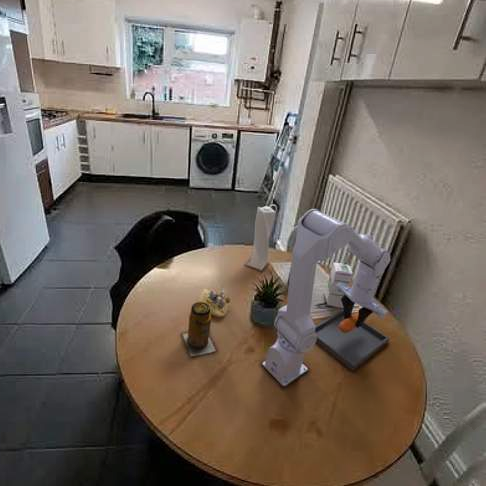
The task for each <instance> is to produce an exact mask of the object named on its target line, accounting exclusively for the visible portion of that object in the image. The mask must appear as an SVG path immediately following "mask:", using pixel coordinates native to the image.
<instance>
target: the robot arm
mask: <svg viewBox="0 0 486 486" xmlns="http://www.w3.org/2000/svg"><path fill="white" fill-rule="evenodd" d="M373 239H374V237H373V236H372V235H370V234H369V233H366V234H363V233H358V232H357V231H356V230H355V229H354V227H353V226H351V225H350V224H348V223H346V222H343V221H341V220H339V219H337V218H335V217H333V216H331V215H328V213H327V214H326V213H324V212H322V211H321V210H319V209H317V208H311V209H309V210H307V211H306V212H304V214H303V215H302V216H301V217H300V218H299V220H297V226H296V235H295V243H294V245H293V248H292V251H291V258H290V259H291V260H290V268H291V269H290V268H289V273H290V279H289V285H288V290H287V301H286V305H284V306H282V307H280V308H279V309H278V311H277V314H276V317H275V318H274V319H275V320H274V323H273V327H274V328H275V329H276V330H277V332H276V335H277V339H276V341H275V343H274V344H272V345H271V346H269V348H268V349H267V351H266V358H265V360H264V361H263V362H262V366H263V367H264V368H265V370H267V371H268V373H270V374H271V375H272V376H273V377H274V378H275V379H276V381H277V382H278V383H279V384H280V385H281V386H283V387H286V386H287V385H289V384H290V383H291V382H293V381H294V380H296V379H297V378H299V377H300V376H302V375H303V374H305V373H306V372H307V371H308V370H309V369H308V367H307V366H306V365H305V364H304V363H303V362H304V357H305V354H306V353H308V352H309V351H310V350H312V349H313V347H315V345H316V343H317V342H316V340H317V334H316V332H315V328H316V327H315V326H316V324H315V322H314V320H313V318H312V316H311V315H310V313H311V307H312V306H311V305H312V298H313V291H314V285H315V279H316V278H315V277H316V272H317V271H316V270H317V263H318V262H326V261H327V260H328V259H330V258H332V256H334V255H335V254H336V253H337V252H339V251H340V250H341V249H343V248H344V247H346V246H347V247H348V250H349V252H350V254H352V255H353V256H354V257H356V260H359V263H358V264H357V265H358V266H357V270H356V273H355V275H354V279H353V283H352V285H351V286H349V287H348V286H346V285H343V284H342V283H339V284H337V285H336V289H335V290H336V291H340V292H342V293H343V294H344V296H343V297H342V298H341V302H342V304H343V308H342V309H344V319H347V318H348V317H350V316H351V313H352V314H353V310H354V307H355V305H358V306H360V308H359V309H358V312H359V314H358V319H357V322H356V327H357V328H358V327H360V326H361V325H362V323H363V322H365V321H366V320H367V318H368V317H369V316H371V314H373V313H374V314H376V315H377V316H378V318H379V319H384V318H385V317H386V316H387V313H388V310H387V309H385V308H384V307H383V306H381V305H380V303H378V302H377V301H376V300H375V299H374V295H375V292H376V289H377V286H378V283H379V279H380V277H381V276H383V274H384V273H385V270H386V268H387V267H388V265H389V264H390V262H391V260H392V259H391V255H390V254H389V253H390V252H389V251H388V250H386V249H384V248H382V247H381V246H380V243H379V242H377V241H374V240H373ZM365 319H366V320H365ZM364 320H365V321H364Z"/></svg>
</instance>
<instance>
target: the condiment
mask: <svg viewBox="0 0 486 486" xmlns="http://www.w3.org/2000/svg"><path fill="white" fill-rule="evenodd" d="M211 319H212V314H210V306H209V305H208V304H207V303H205V302H198V301H197V302H194V303H193V304H192V305H191V308H190V313H189V317H188V332H187V333H182V337H183V340H184V343H185V345H186V347H187V351H188V353H189V356H190V357H197V356H202V355H207V354H210V353H214V352H216V348H215V347H214V344H213V342H212V340H211V338H210V332H211V323H212V320H211Z"/></svg>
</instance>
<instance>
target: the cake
mask: <svg viewBox="0 0 486 486" xmlns="http://www.w3.org/2000/svg"><path fill="white" fill-rule="evenodd" d="M216 275H218V274H216ZM224 283H225V281H224V280H223V282H222V285H221V288H220V291H219V292H215V291H212V290H210V289H208V288H202V291H201V293H200V295H199V297H198V300H197V302H205V303H207V304H208V305H209V306H210V315H211V316H215V317H220V318H222V317H225V316H226V315H227V313H228V311H229V309H230V308H231V305H232V301H231V298H230V297H228V295H224V294H225V292H226V289H224V287H223V286H224Z"/></svg>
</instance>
